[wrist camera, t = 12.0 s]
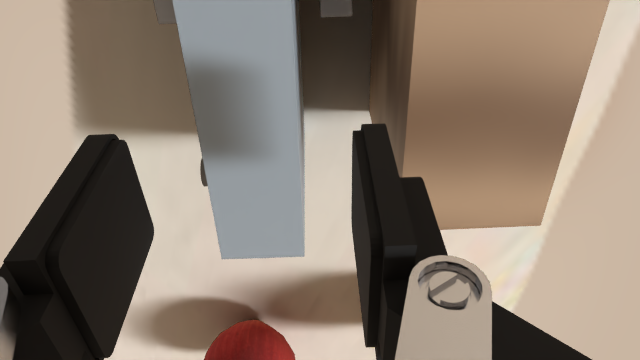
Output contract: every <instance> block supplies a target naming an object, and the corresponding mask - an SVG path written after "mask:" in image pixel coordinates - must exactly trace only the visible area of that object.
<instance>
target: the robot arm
mask: <svg viewBox="0 0 640 360" xmlns="http://www.w3.org/2000/svg"><path fill="white" fill-rule="evenodd" d="M352 233H353V242H354V250H355V259H356V268H357V277H358V286H359V294H360V303H361V312H362V321H363V330H364V338H365V345H366V347H375V352H376V360H592V359H590V358H588V357H587V356H585V355H583V354H581V353H580V352H578V351H576V350H575V349H573V348H571V347H569V346H568V345H566V344H564V343H562V342H561V341H559V340H557V339H556V338H554V337H552V336H551V335H549V334H547V333H545V332H544V331H542V330H540V329H539V328H537V327H535V326H533V325H532V324H530V323H528V322H526V321H525V320H523V319H522V318H520V317H518V316H516V315H515V314H513V313H511V312H510V311H508V310H506V309H504V308H503V307H501V306H499V305H498V304H496V303H494V302H492V290H491V285H490V282H489V280H488V279H487V277H486V275H485V274H484V273H483V272H482V271H481V270H480V269H479V268H478V267H477V266H476V265H474V264H472V263H470V262H468V261H467V260H465V259H461V258H458V257H455V256H448V255H447V251H446V248H445V245H444V242H443V239H442V236H441V233H440V230H439V227H438V224H437V220H436V217H435V214H434V211H433V208H432V205H431V202H430V199H429V196H428V193H427V189H426V186H425V183H424V181H423V178H422V177H399V173H398V169H397V165H396V161H395V157H394V154H393V150H392V146H391V142H390V138H389V134H388V131H387V127H386V124H385V123H382V124H362V126H361V130H360V131H353V143H352ZM153 236H154V227H153V223H152V220H151V217H150V213H149V210H148V207H147V204H146V201H145V198H144V195H143V192H142V189H141V186H140V182H139V179H138V176H137V173H136V170H135V167H134V164H133V161H132V158H131V155H130V151H129V148H128V145H127V143H126V142H125V141H124V140H119V138H118V137H117V136H116V135H115V134H103V135H88V136H87V137H86V139H85V140H84V142H83V143H82V145H81V146H80V148H79V149H78V151H77V152H76V154H75V155H74V157H73V158H72V160H71V161H70V163H69V164H68V166H67V167H66V168H65V170H64V172H63V173H62V175H61V176H60V177H59V179H58V180H57V182H56V183H55V185H54V187H53V188H52V190H51V191H50V193H49V194H48V195H47V197H46V198H45V200H44V201H43V203H42V204H41V206H40V207H39V209H38V210H37V212H36V213H35V215H34V216H33V218H32V219H31V221H30V222H29V224H28V225H27V227H26V228H25V230H24V231H23V233H22V234H21V236H20V237H19V239H18V240H17V242H16V243H15V245H14V246H13V248H12V249H11V251H10V252H9V254H8V255H7V257H6V258H5V259H4V261H3V262H4V264H3V265H2V267H1V268H0V360H104V358H108V357H110V356H111V355H112V353H113V351H114V348H115V345H116V342H117V339H118V337H119V334H120V331H121V328H122V325H123V322H124V320H125V317H126V314H127V311H128V308H129V306H130V303H131V300H132V297H133V294H134V291H135V289H136V286H137V283H138V280H139V277H140V275H141V272H142V269H143V266H144V263H145V260H146V258H147V255H148V252H149V249H150V246H151V243H152V241H153Z"/></svg>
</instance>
